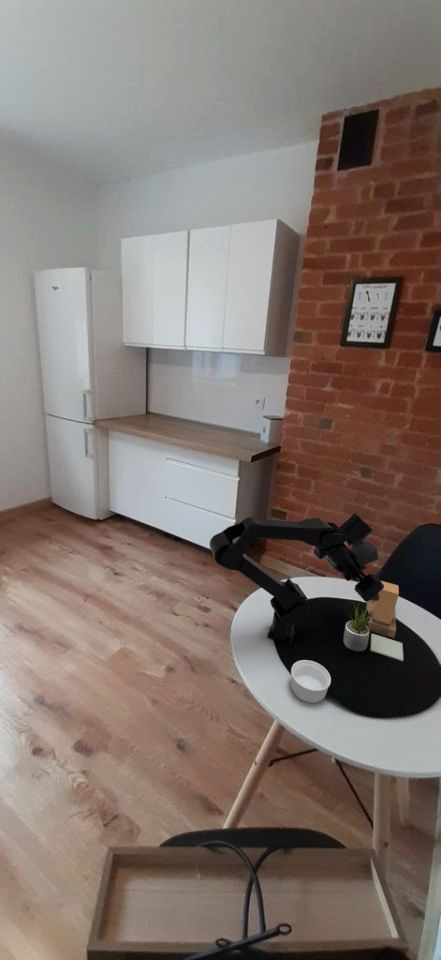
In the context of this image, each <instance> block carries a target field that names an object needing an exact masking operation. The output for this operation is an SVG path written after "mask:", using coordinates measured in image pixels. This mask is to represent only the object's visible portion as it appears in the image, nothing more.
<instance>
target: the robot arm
mask: <svg viewBox="0 0 441 960" xmlns="http://www.w3.org/2000/svg"><path fill="white" fill-rule="evenodd" d="M372 533H374V530H373V529H372V527H371V526H369V525H368V524H367V523H366V522H365V521H364V520H363V519H362V518H361V517H360V515H358V514H357V513H353V514H352V515H351V516H350V517H349V518H348V519H347V520H346V521H345V522H344V523H342V524H341V525H340V526H339V525H337V523H335V522H332V521H325V520H324V519H323V518H321V517H311V518H305V519H303V520H301V521H292V520H290V521H289V520H279V519H278V520H277V519H267V518H265V519H263V518H255V517H253V516H252V517H251V516H250V517H246V518H244V519H243V520H242V521H240V522H239V523H236V524H233V525H230V526H228V527H226V528H225V529H223V530H222V531H221V532H218V533H217V534H214V535H213V536H212V537H211V538H210V540H209V549H210V551H211V553H212V555H213V558H214V561H215V562H216V564H217V565H219V566H220V567H223V568H224V569H227V570H229V571H236V572H239V573H240V574H242V575H243V576H245V577H246V578H248V579H249V580H250V581H252V582H253V583H254V584H256V585H257V587H258V586H259V587H260V588H261V589H263V590H264V591H266V592H267V593H268V594H269V595H271V596H272V598H271V599H270V600H269V602H270V606H271V608H272V609H273V611H274V612H273V617H272V621H271V622H272V623H271V625H270V628H269V630H268V633H267V634H266V635H267V636H266V637H267V638H268V639H271V640H274V641H277V642H280V643H282V642H283V643H282V644H285V643H286V645H288V646H290V645H292V643H293V642H292V641H293V639H294V636H295V633H296V629H295V628H294V626H299V625H300V623H301V622H302V620H303V618H304V617H305V615H306V613H307V612H308V609H309V606H310V604H309V602H308V597H307V595H306V594H305V593H304V591H303V589H302V588H301V587H300V586H299V584H298V583H295V582H293V581H292V580H291V579H290V578H289V577H288V578H287V579H286V581H282V580H280V579H279V578H277V577H276V576H275V575H273V574H272V573H271V572H269V571H268V570H267V569H265V568H264V567H263V566H262V565H260V564H259V563H258V562H256V561H255V560H254V559H253V558H251V557H250V556H248V555H247V554H246V552H247V551H248V550H249V548H250V547H251V546H252V544H253V543H254V542H256V540H259V539H261V540H263V539H264V540H280V541H298V542H302V543H305V544H307V545H309V546H311V547H314V549H313V554H314V555H315V556H316V557H317V559H318V560H322V559H323V558H325V557H326V558H327V562H328V564H330V566H332V568H333V569H334V570H335V571H336V572H337V573H339V574H340V575H342V577H343V578H344V579H345V580H346V581H347V582H349V581H351V580H353V581H355V582H357V583H356V584H355V585H354V591H355V592H356V594H358V596H359V597H361V599H363V601H364V602H366V601H369V600H374V601H378V600H379V599H380V597H379V594H378V593H379V592H380V591H381V590H382V589H383V588H384V585H383V583H382V582H381V581H382V580H380V578H378V577H377V576H376V575H375V574H374V573H368V574H366V573H365V572H364V570H365V569H367V566H366V565H368V564H371V563H373V562H374V561H378V560H379V552H378V548H377V547H376V546H375V545H373V543H372V542H370V541H368V540H367V541H366V539H367V538H368V537H370V535H372ZM237 538H238V539H237ZM235 539H237V540H236V541H235ZM345 543H346V544H347V545H348V546H349V547H351V546H352V547H351V549H350V548H349V547H348V546H347V545H346V544H345Z"/></svg>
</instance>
